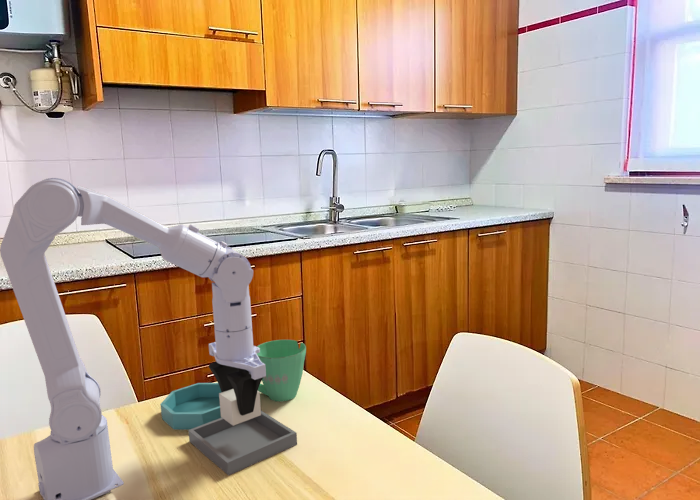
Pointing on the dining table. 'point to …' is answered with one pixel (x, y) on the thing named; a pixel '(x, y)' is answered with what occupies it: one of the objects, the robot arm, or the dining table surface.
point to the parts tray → (242, 441)
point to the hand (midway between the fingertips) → (239, 408)
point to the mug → (281, 368)
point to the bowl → (192, 406)
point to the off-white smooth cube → (236, 408)
